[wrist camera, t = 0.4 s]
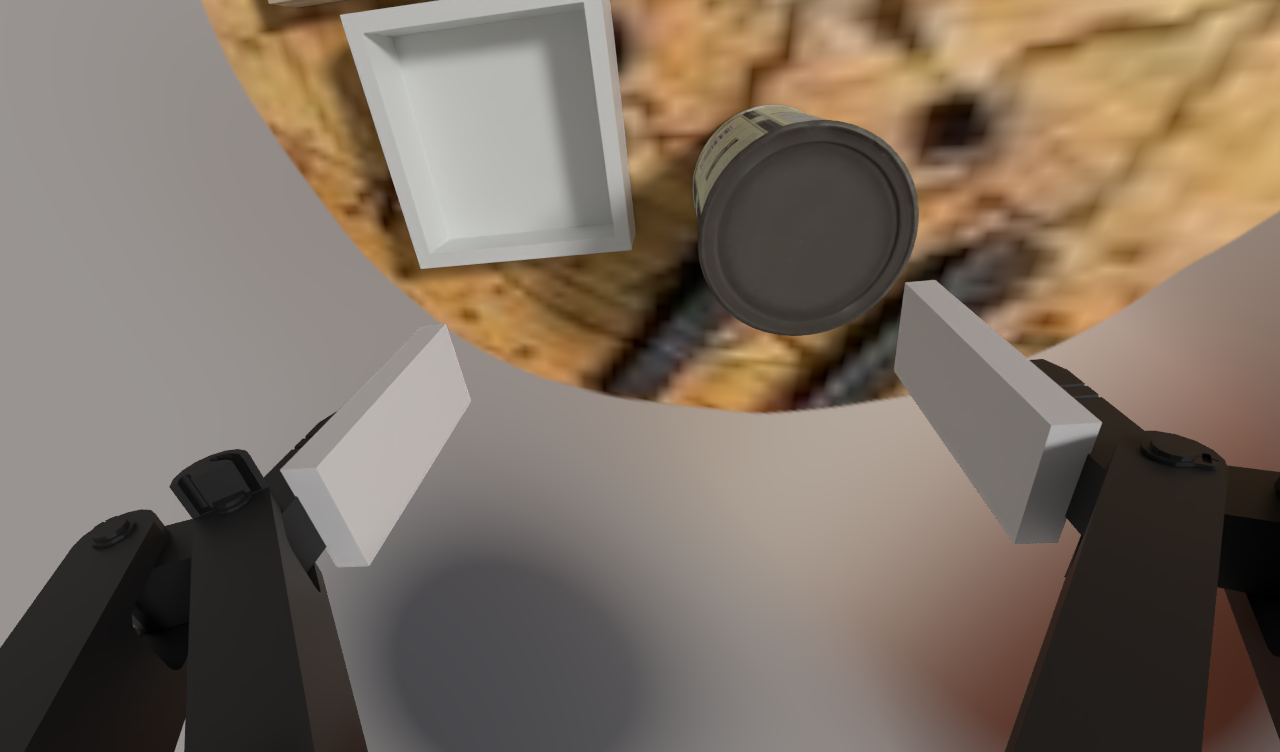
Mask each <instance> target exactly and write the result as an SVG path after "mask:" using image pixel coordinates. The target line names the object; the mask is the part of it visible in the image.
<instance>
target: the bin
mask: <svg viewBox="0 0 1280 752" xmlns="http://www.w3.org/2000/svg"><path fill="white" fill-rule="evenodd" d="M340 18H341V21H342V24H343V27H344V30H345V33H346V36H347V39H348V43H349V46H350V49H351V52H352V55H353V58H354V61H355V65H356V68H357V71H358V74H359V77H360V80H361V83H362V86H363V90H364V93H365V96H366V99H367V102H368V105H369V108H370V112H371V115H372V118H373V121H374V124H375V127H376V130H377V133H378V137H379V140H380V143H381V146H382V149H383V152H384V155H385V158H386V162H387V165H388V168H389V171H390V174H391V177H392V180H393V184H394V187H395V190H396V193H397V196H398V199H399V202H400V205H401V209H402V212H403V215H404V218H405V221H406V224H407V227H408V231H409V234H410V237H411V240H412V243H413V246H414V249H415V252H416V256H417V259H418V262H419V265H420V268H421V269H425V268H437V267H448V266H459V265H470V264H482V263H493V262H504V261H515V260H526V259H538V258H549V257H560V256H571V255H582V254H594V253H605V252H616V251H627V250H632V246H633V242H634V238H635V235H636V227H635V218H634V209H633V200H632V192H631V183H630V174H629V165H628V156H627V147H626V138H625V129H624V121H623V112H622V103H621V94H620V85H619V76H618V67H617V58H616V50H615V41H614V32H613V23H612V14H611V5H610V0H438V1H431V2H424V3H418V4H411V5H404V6H397V7H390V8H383V9H377V10H370V11H363V12H356V13H349V14H343V15H340Z"/></svg>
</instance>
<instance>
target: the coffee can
mask: <svg viewBox="0 0 1280 752" xmlns="http://www.w3.org/2000/svg"><path fill="white" fill-rule="evenodd" d="M692 193H693V201H694V206H695V210H696V216H697V223H698V253H699V261H700V265H701V269H702V272H703V275H704V278H705V280H706V282H707V284H708V286H709V288H710V290H711V292H712V293H713V295H714V296H715V298H716V299H717V300H718V302H719V303H720V304H721V305H722V306H723V307H724V308H725V309H726V310H727V311H728V312H729V313H730V314H731V315H733V316H734V317H735V318H736V319H738V320H739V321H741V322H743V323H745V324H746V325H748V326H750V327H753V328H755V329H758V330H761V331H764V332H768V333H773V334H778V335H789V336H802V335H811V334H817V333H821V332H825V331H829V330H831V329H834V328H837V327H839V326H842V325H844V324H846V323H849V322H851V321H852V320H854V319H856V318H857V317H859V316H861V315H862V314H864V313H865V312H866V311H868V310H869V309H870V308H872V307H873V306H874V305H875V304H876V303H877V302H878V301H880V300H881V299H882V298H883V297H884V296H885V295H886V293H887V292H888V291H889V290H890V289H891V288H892V286H893V285H894V284H895V282H896V281H897V280H898V278H899V277H900V275H901V273H902V271H903V270H904V268H905V266H906V264H907V262H908V260H909V258H910V256H911V253H912V250H913V247H914V243H915V240H916V236H917V229H918V221H919V207H918V199H917V193H916V189H915V186H914V182H913V180H912V177H911V175H910V173H909V171H908V169H907V167H906V165H905V163H904V162H903V161H902V159H901V158H900V157H899V155H898V154H897V153H896V152H895V151H894V150H893V148H892V147H891V146H890V145H888V144H887V143H886V142H885V141H884V140H882V139H881V138H880V137H878V136H876V135H875V134H873V133H871V132H870V131H867V130H865V129H863V128H860V127H858V126H855V125H852V124H848V123H845V122H840V121H832V120H824V119H821V118H818V117H815V116H812V115H809V114H806V113H805V112H802V111H800V110H798V109H795V108H791V107H788V106H785V105H764V106H758V107H754V108H751V109H748V110H745V111H743V112H741V113H739V114H737V115H735V116H733V117H732V118H730V119H729V120H727V121H726V122H725V123H724V124H722V125H721V126H720V127H719V128H718V129H717V130H716V131H715V132H714V134H713V135H712V136H711V137H710V138H709V140H708V141H707V143H706V144H705V146H704V148H703V150H702V151H701V154H700V156H699V158H698V161H697V163H696V166H695V170H694V174H693V185H692Z"/></svg>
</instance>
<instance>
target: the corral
mask: <svg viewBox="0 0 1280 752" xmlns="http://www.w3.org/2000/svg"><path fill="white" fill-rule="evenodd" d="M338 1H345V0H268V2H269V4H273V5H280V6H286V7H292V8H298V7H305V6H311V5H318V4H325V3H331V2H338Z"/></svg>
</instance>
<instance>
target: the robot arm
mask: <svg viewBox="0 0 1280 752" xmlns="http://www.w3.org/2000/svg"><path fill="white" fill-rule="evenodd" d="M894 372H895V373H896V375H897V376H898V377H899V379H900V380H901V382H902V383H903V385H904V386H905V388H906V389H907V390H908V392H909V393H910V395H911V396H912V398H913V399H914V400H915V402H916V403H917V405H918V406H919V408H920V409H921V411H922V412H923V413H924V415H925V416H926V418H927V419H928V421H929V422H930V424H931V425H932V426H933V428H934V429H935V431H936V432H937V433H938V435H939V437H940V438H941V439H942V441H943V442H944V444H945V445H946V447H947V448H948V449H949V451H950V452H951V454H952V455H953V457H954V458H955V460H956V461H957V462H958V464H959V465H960V467H961V468H962V470H963V471H964V472H965V474H966V475H967V477H968V478H969V480H970V481H971V483H972V484H973V486H974V487H975V488H976V490H977V491H978V493H979V494H980V496H981V497H982V498H983V500H984V501H985V503H986V504H987V506H988V507H989V508H990V510H991V512H992V513H993V514H994V516H995V517H996V519H997V520H998V522H999V523H1000V524H1001V526H1002V527H1003V529H1004V530H1005V532H1006V533H1007V534H1008V536H1009V537H1010V539H1011V540H1012V542H1013V543H1014V544H1030V543H1057V542H1058V541H1059V538H1060V535H1061V532H1062V530H1063V527H1064V524H1065V522H1066V519H1068V520H1069V521H1070V522H1071V524H1072V525H1073V526H1074V527H1075V528H1076V529H1077V531H1078V532H1079V533H1080V534H1081V537H1080V540H1079V542H1078V545H1077V547H1076V549H1075V552H1074V555H1073V557H1072V560H1071V562H1070V565H1069V567H1068V570H1067V572H1066V575H1065V581H1064V584H1063V587H1062V590H1061V592H1060V595H1059V598H1058V601H1057V604H1056V607H1055V610H1054V612H1053V615H1052V618H1051V621H1050V624H1049V627H1048V630H1047V632H1046V635H1045V638H1044V641H1043V644H1042V647H1041V650H1040V652H1039V656H1038V658H1037V661H1036V664H1035V667H1034V669H1033V672H1032V675H1031V678H1030V681H1029V684H1028V687H1027V689H1026V692H1025V695H1024V698H1023V701H1022V704H1021V707H1020V709H1019V712H1018V715H1017V718H1016V721H1015V724H1014V727H1013V729H1012V732H1011V735H1010V738H1009V741H1008V744H1007V747H1006V749H1005V752H1201V751H1202V740H1203V730H1204V719H1205V709H1206V699H1207V688H1208V678H1209V667H1210V657H1211V646H1212V636H1213V625H1214V615H1215V605H1216V595H1217V587H1219V588H1224V590H1225V592H1226V595H1227V598H1228V600H1229V603H1230V606H1231V609H1232V612H1233V614H1234V617H1235V620H1236V622H1237V625H1238V628H1239V630H1240V633H1241V636H1242V639H1243V641H1244V644H1245V647H1246V650H1247V652H1248V655H1249V658H1250V660H1251V663H1252V666H1253V669H1254V671H1255V674H1256V677H1257V679H1258V682H1259V685H1260V688H1261V690H1262V693H1263V695H1264V698H1265V701H1266V704H1267V707H1268V709H1269V712H1270V714H1271V717H1272V720H1273V723H1274V726H1275V728H1276V731H1277V734H1278V737H1279V739H1280V472H1274V471H1266V470H1258V469H1250V468H1243V467H1235V466H1227V465H1226V462H1225V460H1224V459H1223V458H1222V457H1221V456H1219V455H1218V454H1217V453H1216V452H1215V451H1214V450H1212V449H1210V448H1208V447H1206V446H1204V445H1202V444H1200V443H1199V442H1197V441H1194V440H1191V439H1188V438H1185V437H1181V436H1179V435H1176V434H1171V433H1164V432H1159V431H1144V430H1143V429H1141V428H1140V427H1139V426H1138V425H1136V424H1135V423H1134V422H1133V421H1131V420H1130V419H1129V418H1128V417H1126V416H1125V415H1124V414H1123V413H1121V412H1120V411H1119V410H1117V409H1116V408H1115V407H1114V406H1112V405H1111V404H1110V403H1109V402H1107V401H1106V400H1105V399H1103V398H1102V397H1098V394H1097V393H1096V392H1095V391H1094V390H1092V389H1091V388H1089V387H1088V386H1085V385H1084V383H1083V382H1082V381H1081V380H1079V379H1078V378H1077V377H1076V376H1074V375H1073V374H1072V373H1071V372H1070V371H1068V370H1067V369H1064V368H1062V367H1060V366H1057V365H1055V364H1053V363H1050V362H1048V361H1046V360H1044V359H1039V360H1038V359H1037V360H1028V359H1027V358H1026V357H1025V356H1024V355H1022V354H1021V353H1020V352H1019V351H1018V350H1017V349H1015V348H1014V347H1013V346H1012V345H1011V344H1010V343H1008V342H1007V341H1006V340H1005V339H1004V338H1003V337H1001V336H1000V335H999V334H998V333H997V332H996V331H994V330H993V329H992V328H991V327H990V326H988V325H987V324H986V323H985V322H984V321H983V320H981V319H980V318H979V317H978V316H977V315H976V314H974V313H973V312H972V311H971V310H970V309H969V308H967V307H966V306H965V305H964V304H963V303H961V302H960V301H959V300H958V299H957V298H956V297H954V296H953V295H952V294H951V293H950V292H949V291H947V290H946V289H945V288H944V287H943V286H942V285H940V284H939V283H938V282H937V281H936V280H930V281H918V282H907V283H905V289H904V296H903V304H902V312H901V320H900V327H899V335H898V343H897V351H896V358H895V366H894ZM470 402H471V399H470V396H469V393H468V390H467V387H466V384H465V381H464V378H463V375H462V371H461V369H460V365H459V363H458V359H457V357H456V353H455V350H454V347H453V344H452V341H451V338H450V335H449V332H448V329H447V326H446V324H436V325H425V326H421V327H420V328H419V329H418V330H417V331H416V332H415V333H414V334H413V335H412V336H411V337H410V338H409V339H408V340H407V341H406V342H405V343H404V344H403V345H402V346H401V347H400V348H399V349H398V351H396V353H394V354H393V355H392V356H391V357H390V359H388V360H387V362H386V363H385V364H384V365H383V366H382V367H381V368H380V369H379V370H378V371H377V372H376V373H375V374H374V375H373V376H372V377H371V378H370V379H369V380H368V381H367V382H366V383H365V384H364V385H363V386H362V387H361V388H360V389H359V390H358V391H357V392H356V393H355V394H354V395H353V396H352V397H351V398H350V399H349V400H348V401H347V402H346V403H345V404H344V405H343V406H342V407H341V408H340V409H339V411H337V412H335V413H333V414H332V415H331V416H329V417H327V418H326V419H324V420H322V421H321V422H319V423H318V424H317V425H316V426H315V427H314V428H313V429H312V430H311V431H310V432H309V433H308V434H307V435H306V438H305V439H302V440H301V441H300V442H299V443H298V444H297V445H296V446H295V449H294V450H291V451H290V452H289V453H288V454H287V455H286V456H285V457H284V458H283V459H282V460H281V461H280V462H279V463H278V464H277V465H276V466H275V467H274V468H273V469H272V470H271V471H270V472H269V473H268V474H267V475H266V476H265V477H264V478H263V476H262V474H261V473H260V471H259V470H258V468H257V466H256V465H255V463H254V461H253V460H252V458H251V456H250V455H249V454H248V452H247V451H245V450H239V449H235V450H228V451H223V452H220V453H217V454H213V455H210V456H208V457H206V458H204V459H202V460H199V461H197V462H195V463H194V464H192V465H191V466H189V467H187V468H186V469H184V470H183V471H182V472H181V473H179V474H178V475H177V476H176V477H175V478H174V479H173V481H172V483H171V485H170V488H171V490H172V491H173V492H174V494H175V495H176V496H177V498H178V499H179V501H180V502H181V503H182V505H183V506H184V507H185V509H186V510H187V512H188V513H189V514H190V516H191V517H192V518H193V519H190V520H186V521H182V522H179V523H175V524H171V525H167V526H164V525H163V523H162V522H161V521H160V520H159V518H158V517H157V515H156V514H155V513H153V511H151V510H137V511H132V512H128V513H125V514H122V515H120V516H115V517H112V518H110V519H108V520H106V522H102V523H100V524H99V525H97V526H95V527H94V529H93V530H91V531H90V532H88V533H87V534H86V535H84V536H83V537H82V538H81V539H80V540H79V541H78V542H77V543H76V544H75V545H74V546H73V547H72V548H71V550H70V551H69V553H68V554H67V555H66V557H65V558H64V560H63V561H62V562H61V564H60V565H59V567H58V568H57V570H56V571H55V572H54V574H53V575H52V576H51V578H50V579H49V581H48V582H47V583H46V585H45V586H44V588H43V589H42V590H41V592H40V593H39V595H38V596H37V597H36V599H35V600H34V602H33V603H32V605H31V606H30V607H29V609H28V610H27V612H26V613H25V614H24V616H23V617H22V618H21V620H20V621H19V623H18V624H17V625H16V627H15V628H14V630H13V631H12V632H11V634H10V635H9V637H8V638H7V639H6V641H5V642H4V644H3V645H2V646H1V648H0V752H174V751H175V748H176V745H177V742H178V739H179V736H180V733H181V730H182V726H183V724H184V721H185V718H186V722H185V750H184V752H368V750H367V746H366V742H365V739H364V734H363V731H362V727H361V723H360V719H359V715H358V711H357V707H356V703H355V700H354V696H353V692H352V688H351V684H350V680H349V676H348V672H347V669H346V665H345V661H344V657H343V653H342V649H341V645H340V641H339V638H338V634H337V630H336V626H335V622H334V618H333V614H332V611H331V607H330V603H329V599H328V595H327V591H326V587H325V583H324V580H323V576H322V573H321V571H320V570H319V568H318V566H317V565H316V563H315V562H316V560H317V559H318V557H319V556H320V555H321V553H322V552H323V550H324V549H325V548H326V550H327V552H328V553H329V554H330V557H331V558H332V560H333V562H334V563H335V565H336V567H357V566H369V565H370V564H371V562H372V561H373V559H374V557H375V556H376V554H377V552H378V551H379V549H380V548H381V546H382V544H383V543H384V541H385V539H386V538H387V536H388V535H389V533H390V531H391V530H392V528H393V527H394V525H395V523H396V522H397V520H398V518H399V517H400V515H401V514H402V512H403V510H404V509H405V507H406V506H407V504H408V502H409V501H410V499H411V498H412V496H413V494H414V493H415V491H416V489H417V488H418V486H419V485H420V483H421V481H422V480H423V478H424V476H425V475H426V473H427V471H428V470H429V468H430V467H431V465H432V464H433V462H434V460H435V459H436V457H437V455H438V454H439V452H440V451H441V449H442V447H443V446H444V444H445V442H446V441H447V439H448V438H449V436H450V434H451V433H452V431H453V430H454V428H455V426H456V425H457V423H458V421H459V420H460V418H461V417H462V415H463V413H464V412H465V410H466V408H467V407H468V405H469V404H470ZM133 626H134V627H133Z"/></svg>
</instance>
